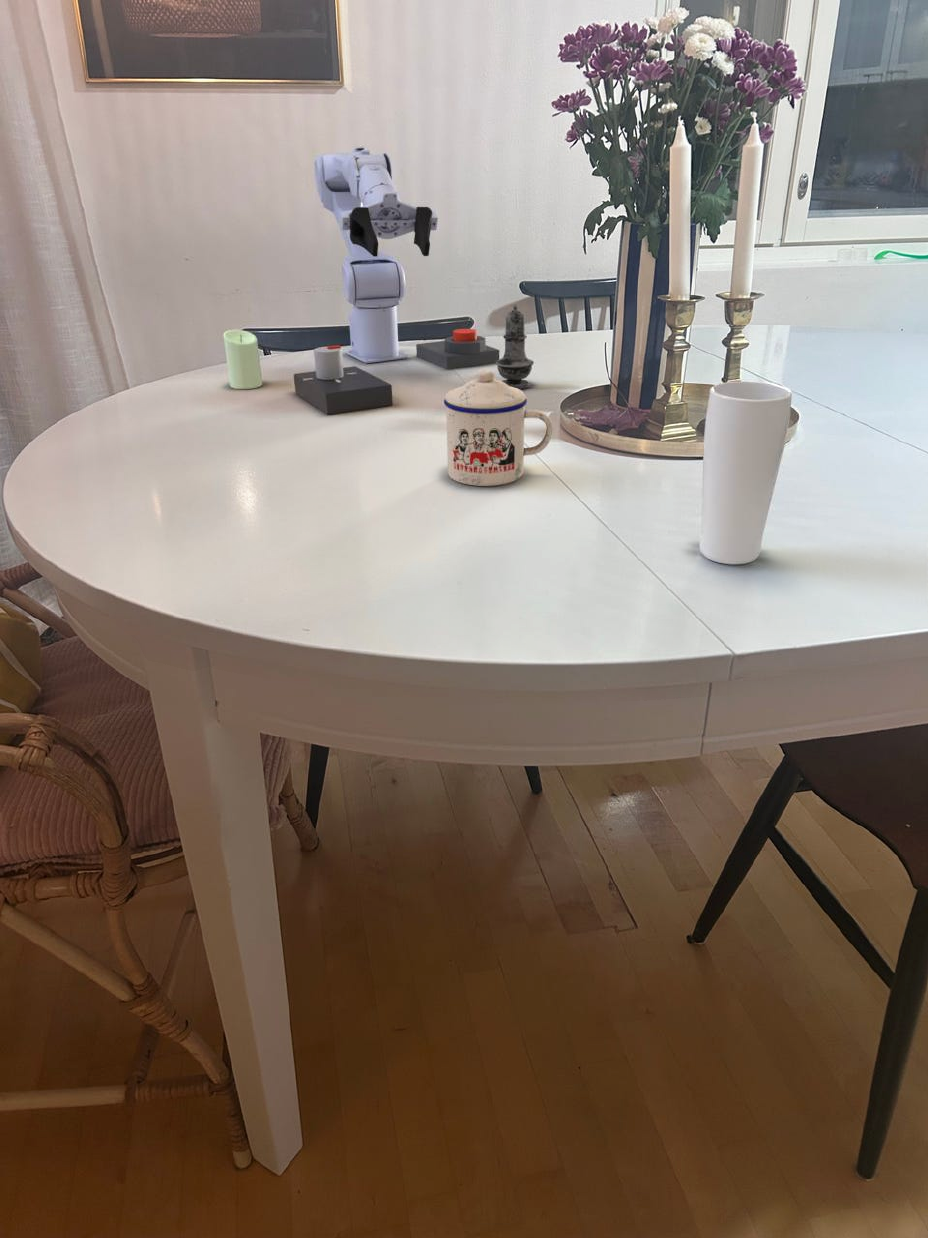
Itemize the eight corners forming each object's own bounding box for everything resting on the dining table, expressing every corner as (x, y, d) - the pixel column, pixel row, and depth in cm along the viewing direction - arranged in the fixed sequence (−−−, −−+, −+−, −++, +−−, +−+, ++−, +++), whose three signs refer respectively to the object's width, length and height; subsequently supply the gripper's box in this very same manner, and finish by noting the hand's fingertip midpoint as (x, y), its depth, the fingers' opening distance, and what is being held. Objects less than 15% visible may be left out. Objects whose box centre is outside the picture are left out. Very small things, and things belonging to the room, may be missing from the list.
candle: (269, 384, 142) (262, 331, 139) (242, 391, 139) (235, 336, 135) (250, 380, 145) (243, 327, 142) (223, 386, 142) (216, 332, 138)
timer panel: (294, 393, 137) (292, 372, 136) (356, 385, 141) (355, 364, 140) (326, 415, 126) (324, 392, 125) (392, 405, 130) (391, 383, 129)
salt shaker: (534, 381, 142) (535, 301, 136) (532, 390, 137) (534, 307, 131) (496, 380, 143) (496, 301, 137) (494, 389, 137) (494, 307, 132)
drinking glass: (681, 542, 85) (698, 381, 78) (751, 538, 86) (774, 379, 79) (704, 572, 79) (724, 401, 72) (779, 568, 80) (807, 398, 73)
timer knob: (321, 381, 131) (319, 350, 129) (312, 375, 134) (309, 346, 132) (347, 377, 133) (345, 347, 131) (337, 372, 136) (335, 343, 134)
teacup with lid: (443, 487, 99) (440, 381, 94) (447, 461, 107) (445, 362, 102) (552, 488, 99) (556, 380, 93) (549, 461, 107) (552, 361, 101)
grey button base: (416, 356, 159) (415, 333, 157) (466, 350, 163) (466, 327, 161) (448, 370, 150) (448, 345, 148) (500, 363, 154) (501, 339, 152)
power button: (449, 340, 153) (449, 330, 153) (469, 338, 155) (469, 327, 154) (460, 344, 150) (460, 333, 149) (481, 342, 152) (481, 331, 151)
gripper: (335, 175, 134) (353, 222, 126) (430, 177, 138) (453, 223, 130) (334, 221, 139) (351, 269, 131) (425, 222, 143) (446, 268, 135)
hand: (401, 249), depth 131 cm, fingers open, 7 cm apart
